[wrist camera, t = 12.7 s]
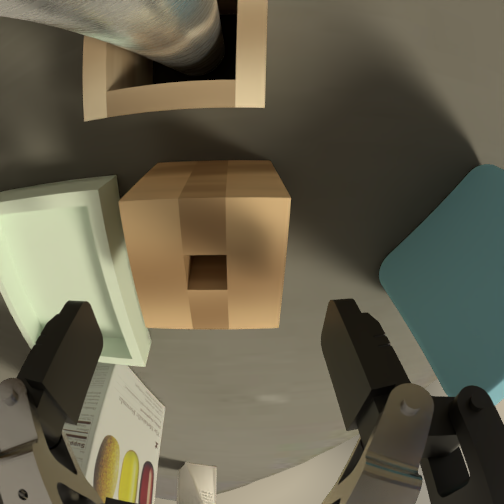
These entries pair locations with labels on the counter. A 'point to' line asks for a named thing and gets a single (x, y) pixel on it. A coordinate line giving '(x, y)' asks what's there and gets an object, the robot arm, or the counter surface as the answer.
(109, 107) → the beech block wide bore
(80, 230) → the tray
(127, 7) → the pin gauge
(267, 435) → the counter surface
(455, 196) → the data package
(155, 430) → the supplement box
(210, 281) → the oak block narrow bore
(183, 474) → the skyscraper
